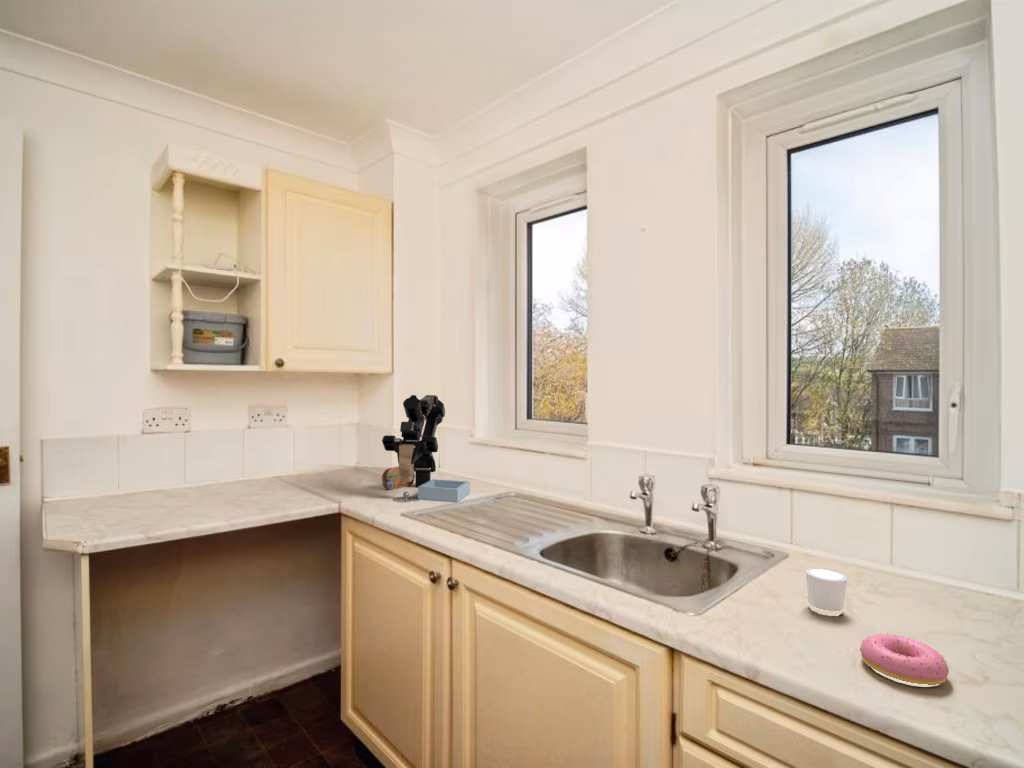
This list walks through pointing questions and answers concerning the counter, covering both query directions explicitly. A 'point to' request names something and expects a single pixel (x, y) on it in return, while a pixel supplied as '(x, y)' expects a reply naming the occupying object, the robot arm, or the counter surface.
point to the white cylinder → (826, 588)
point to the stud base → (405, 498)
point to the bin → (444, 490)
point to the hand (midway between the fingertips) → (405, 463)
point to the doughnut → (904, 659)
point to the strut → (406, 463)
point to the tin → (394, 479)
